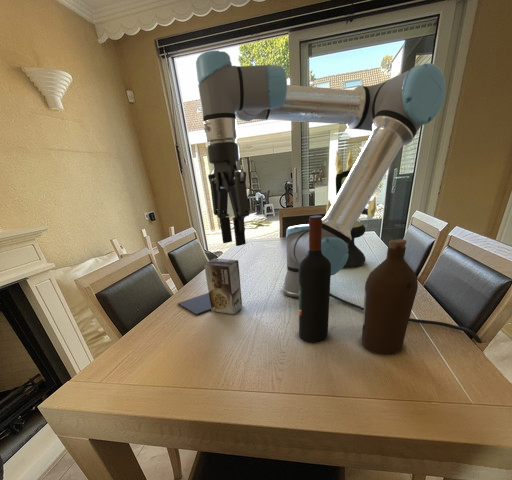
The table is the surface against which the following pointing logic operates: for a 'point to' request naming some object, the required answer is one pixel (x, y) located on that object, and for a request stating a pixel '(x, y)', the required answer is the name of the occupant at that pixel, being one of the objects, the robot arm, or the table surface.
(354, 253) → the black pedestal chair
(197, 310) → the placemat
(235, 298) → the coffee box
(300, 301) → the wine bottle
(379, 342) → the olive oil
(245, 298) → the table surface
